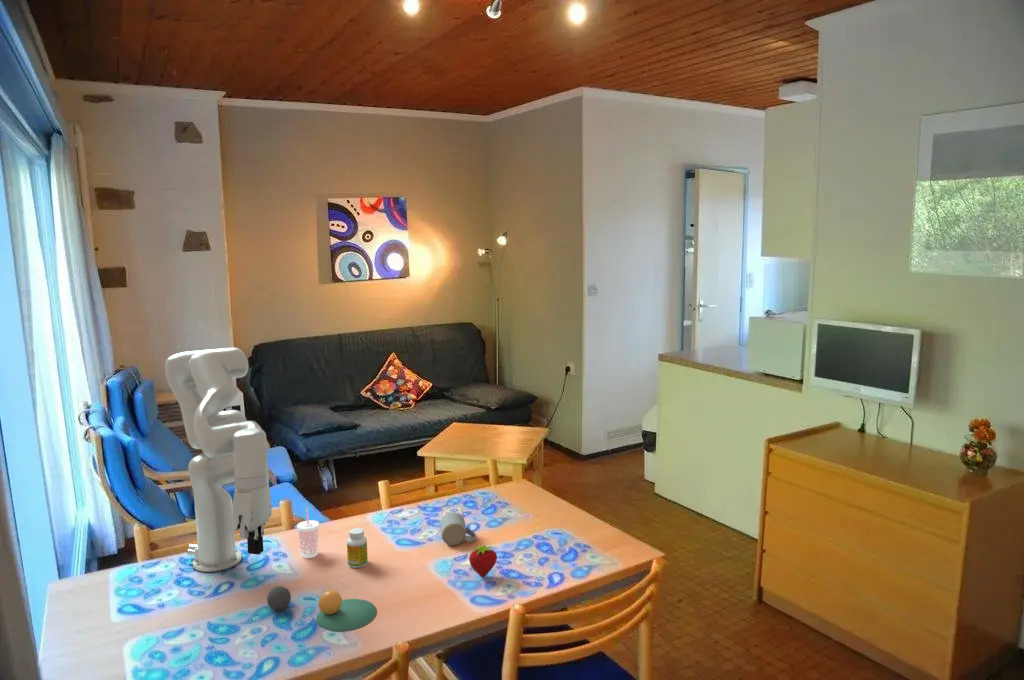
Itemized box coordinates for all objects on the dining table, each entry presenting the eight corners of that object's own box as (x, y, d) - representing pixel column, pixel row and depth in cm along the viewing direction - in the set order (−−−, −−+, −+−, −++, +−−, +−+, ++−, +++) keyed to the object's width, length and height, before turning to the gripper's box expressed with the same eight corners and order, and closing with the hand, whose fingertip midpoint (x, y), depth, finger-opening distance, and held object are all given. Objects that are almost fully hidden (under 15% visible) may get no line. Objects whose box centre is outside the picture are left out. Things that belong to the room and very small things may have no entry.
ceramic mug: (441, 548, 199) (441, 523, 198) (439, 536, 207) (439, 512, 206) (477, 546, 200) (477, 521, 199) (474, 534, 208) (474, 510, 207)
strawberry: (499, 580, 180) (499, 544, 178) (471, 584, 177) (471, 548, 176) (494, 570, 185) (493, 535, 184) (467, 573, 183) (466, 538, 182)
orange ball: (331, 595, 160) (338, 617, 160) (341, 584, 165) (348, 604, 166) (311, 599, 161) (318, 621, 162) (321, 588, 166) (329, 609, 167)
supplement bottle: (362, 569, 186) (361, 535, 184) (344, 567, 187) (343, 534, 185) (370, 560, 191) (369, 527, 190) (352, 558, 192) (351, 525, 191)
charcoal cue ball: (278, 593, 162) (285, 614, 162) (291, 580, 167) (298, 600, 168) (259, 595, 163) (266, 616, 164) (272, 583, 168) (279, 603, 169)
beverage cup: (311, 560, 191) (309, 513, 189) (293, 557, 193) (291, 510, 191) (324, 551, 196) (322, 505, 194) (307, 548, 199) (305, 502, 197)
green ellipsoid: (305, 627, 158) (305, 627, 158) (332, 597, 171) (332, 596, 171) (362, 634, 155) (362, 633, 155) (385, 602, 169) (385, 601, 169)
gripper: (254, 469, 171) (258, 538, 173) (218, 490, 156) (223, 565, 159) (282, 471, 169) (285, 540, 172) (248, 493, 155) (252, 568, 158)
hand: (255, 552), depth 165 cm, fingers closed
